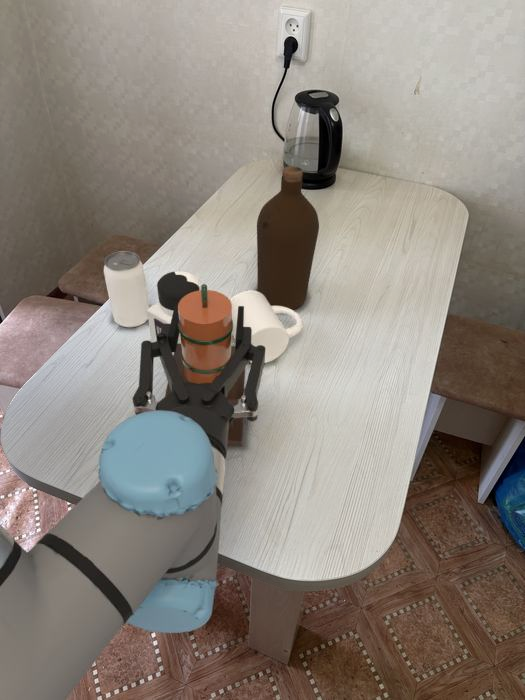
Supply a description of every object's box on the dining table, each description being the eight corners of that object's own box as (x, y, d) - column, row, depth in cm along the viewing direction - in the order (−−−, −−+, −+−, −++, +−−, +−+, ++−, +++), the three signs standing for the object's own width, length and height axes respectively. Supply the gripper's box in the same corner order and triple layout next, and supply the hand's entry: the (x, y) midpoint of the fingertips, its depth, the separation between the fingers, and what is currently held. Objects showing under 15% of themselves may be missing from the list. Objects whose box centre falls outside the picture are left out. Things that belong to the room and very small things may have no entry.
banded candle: (179, 387, 65) (170, 301, 56) (186, 351, 70) (178, 266, 60) (231, 389, 65) (231, 303, 56) (234, 353, 70) (234, 269, 60)
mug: (242, 369, 82) (243, 332, 77) (223, 330, 89) (222, 294, 83) (309, 353, 86) (314, 316, 80) (286, 317, 92) (289, 281, 87)
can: (118, 304, 93) (107, 248, 84) (153, 306, 93) (146, 250, 84) (109, 327, 88) (96, 270, 80) (146, 329, 88) (137, 272, 80)
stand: (171, 443, 71) (164, 396, 64) (180, 390, 78) (175, 343, 71) (242, 446, 71) (243, 400, 64) (245, 393, 78) (246, 346, 71)
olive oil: (298, 320, 92) (314, 190, 74) (245, 304, 94) (248, 176, 77) (316, 288, 99) (334, 164, 82) (266, 274, 101) (273, 151, 84)
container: (184, 364, 82) (178, 301, 73) (151, 344, 85) (141, 281, 76) (215, 340, 87) (213, 278, 78) (182, 321, 90) (177, 259, 81)
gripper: (93, 473, 53) (136, 330, 70) (287, 481, 53) (284, 336, 70) (78, 430, 48) (129, 286, 64) (293, 438, 48) (288, 293, 65)
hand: (209, 312), depth 67 cm, fingers open, 8 cm apart
